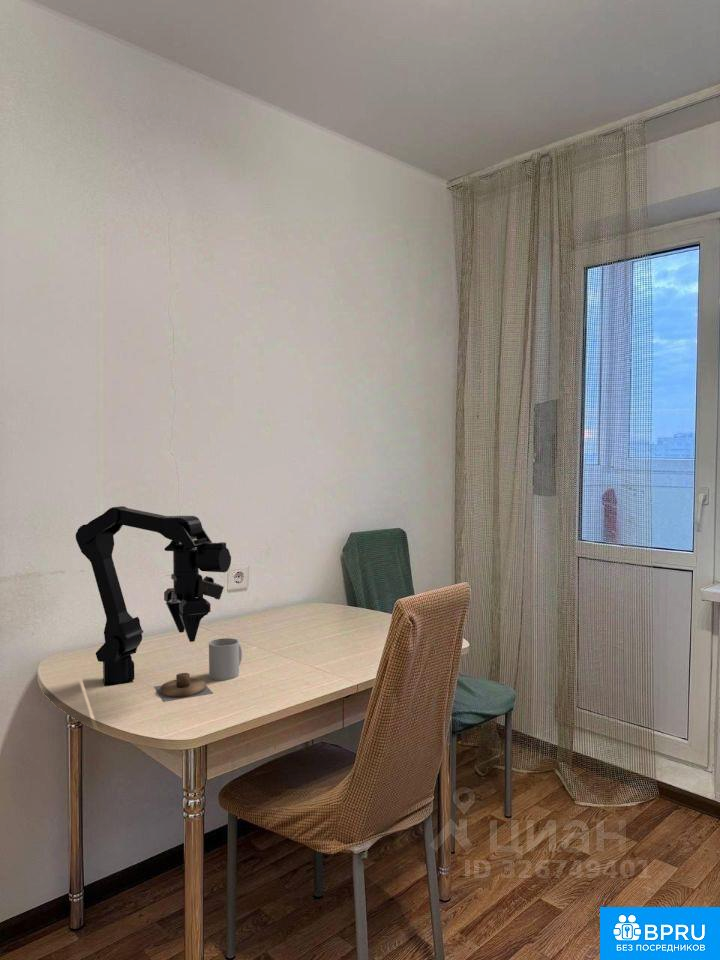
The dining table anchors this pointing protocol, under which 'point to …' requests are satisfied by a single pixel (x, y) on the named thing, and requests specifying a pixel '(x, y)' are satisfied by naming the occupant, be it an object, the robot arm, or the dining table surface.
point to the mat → (165, 698)
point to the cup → (224, 658)
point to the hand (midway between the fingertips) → (186, 636)
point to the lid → (182, 686)
